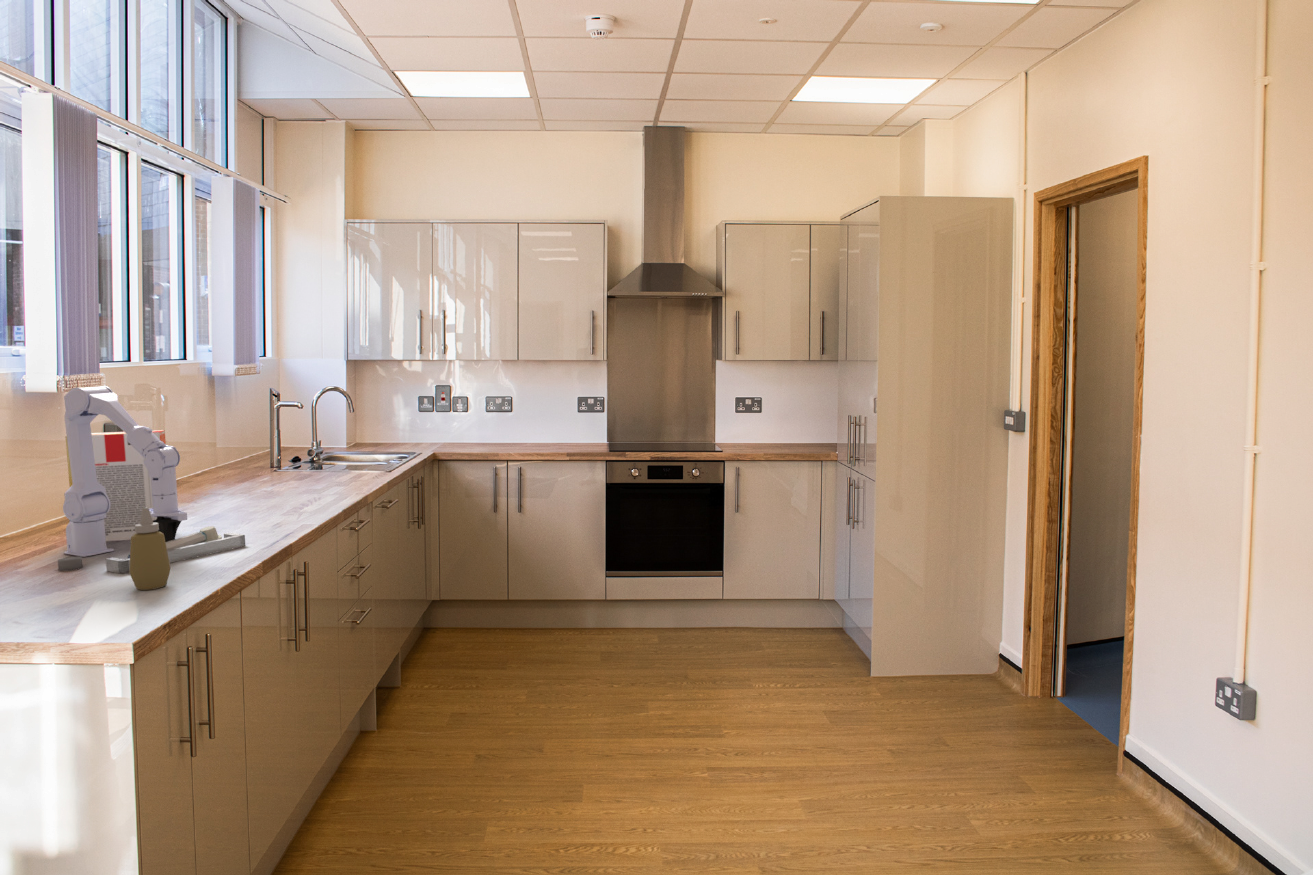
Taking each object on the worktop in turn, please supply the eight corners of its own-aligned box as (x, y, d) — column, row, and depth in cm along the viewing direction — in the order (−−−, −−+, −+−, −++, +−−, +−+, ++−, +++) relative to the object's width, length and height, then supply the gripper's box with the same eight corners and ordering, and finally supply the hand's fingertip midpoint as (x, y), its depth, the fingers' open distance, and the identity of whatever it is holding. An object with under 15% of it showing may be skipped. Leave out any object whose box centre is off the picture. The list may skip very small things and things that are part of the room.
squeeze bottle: (128, 593, 196) (121, 512, 195) (133, 585, 204) (127, 506, 202) (170, 589, 200) (164, 509, 198) (173, 580, 207) (167, 503, 205)
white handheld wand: (123, 552, 220) (209, 520, 243) (129, 578, 222) (214, 543, 244) (138, 554, 218) (223, 521, 240) (143, 580, 220) (227, 545, 242)
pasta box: (171, 531, 265) (164, 430, 262) (167, 536, 257) (159, 432, 254) (82, 538, 257) (73, 433, 254) (74, 543, 250) (65, 436, 247)
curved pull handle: (106, 570, 218) (105, 558, 217) (229, 543, 246) (229, 532, 246) (122, 573, 214) (121, 561, 214) (245, 545, 243) (244, 534, 243)
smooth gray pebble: (54, 569, 220) (53, 559, 220) (76, 565, 224) (75, 555, 224) (65, 572, 217) (64, 562, 217) (87, 567, 222) (86, 558, 221)
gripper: (132, 494, 231) (136, 546, 232) (166, 498, 224) (170, 551, 225) (158, 490, 237) (162, 541, 238) (193, 493, 230) (197, 546, 231)
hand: (168, 545), depth 232 cm, fingers closed
